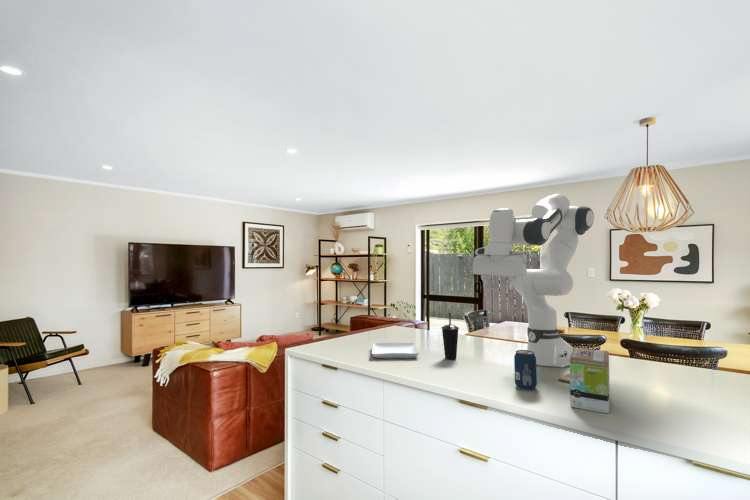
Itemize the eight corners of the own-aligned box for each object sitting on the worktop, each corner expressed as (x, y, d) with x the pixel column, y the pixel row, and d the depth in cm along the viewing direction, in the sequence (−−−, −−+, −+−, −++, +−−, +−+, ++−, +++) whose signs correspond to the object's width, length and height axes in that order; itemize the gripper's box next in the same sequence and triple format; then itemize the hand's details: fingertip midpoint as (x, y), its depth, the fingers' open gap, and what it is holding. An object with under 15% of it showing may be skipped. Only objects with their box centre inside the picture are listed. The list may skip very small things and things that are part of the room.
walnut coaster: (569, 374, 141) (569, 372, 141) (599, 380, 133) (599, 378, 133) (558, 380, 134) (558, 378, 134) (588, 387, 127) (588, 385, 127)
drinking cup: (462, 357, 168) (461, 312, 169) (455, 361, 162) (454, 314, 162) (445, 355, 172) (444, 311, 173) (439, 359, 166) (438, 313, 166)
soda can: (527, 383, 132) (526, 348, 132) (541, 389, 125) (540, 353, 126) (510, 385, 130) (509, 350, 130) (524, 392, 123) (523, 355, 124)
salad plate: (419, 360, 166) (419, 352, 166) (371, 360, 166) (371, 353, 166) (415, 349, 187) (415, 342, 187) (372, 349, 187) (372, 342, 188)
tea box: (610, 414, 105) (608, 360, 105) (569, 407, 110) (568, 356, 110) (610, 397, 117) (608, 349, 118) (574, 392, 123) (572, 346, 123)
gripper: (531, 252, 135) (529, 291, 134) (480, 251, 150) (478, 286, 149) (523, 250, 131) (520, 290, 130) (471, 250, 146) (469, 286, 145)
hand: (497, 288), depth 140 cm, fingers open, 8 cm apart
